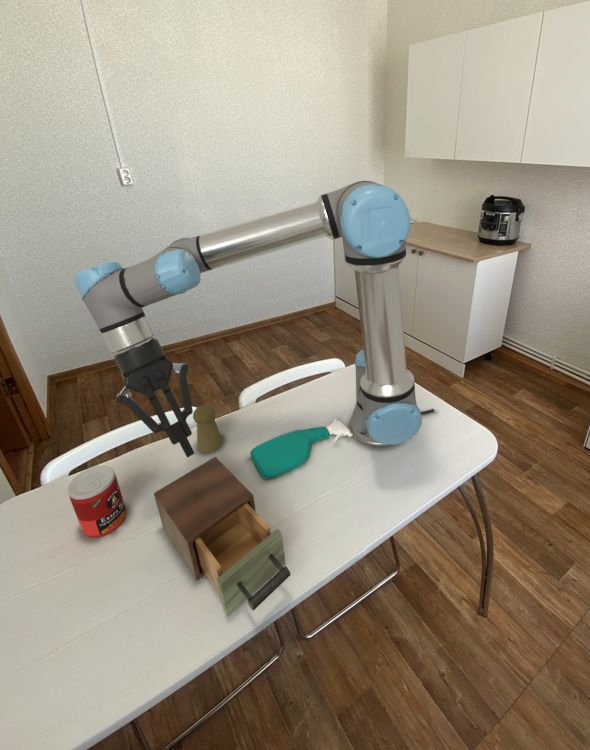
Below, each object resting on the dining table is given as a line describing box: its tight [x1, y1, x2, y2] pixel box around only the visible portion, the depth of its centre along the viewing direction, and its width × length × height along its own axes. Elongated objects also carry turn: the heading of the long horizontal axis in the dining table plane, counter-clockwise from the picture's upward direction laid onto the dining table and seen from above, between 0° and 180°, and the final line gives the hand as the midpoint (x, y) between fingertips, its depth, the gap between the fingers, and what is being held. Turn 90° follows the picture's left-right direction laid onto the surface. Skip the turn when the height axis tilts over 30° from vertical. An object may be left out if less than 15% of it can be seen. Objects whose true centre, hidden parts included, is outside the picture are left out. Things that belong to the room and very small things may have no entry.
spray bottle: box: [250, 418, 353, 480], centre depth 96 cm, size 3×11×24 cm
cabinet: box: [153, 456, 257, 581], centre depth 74 cm, size 15×13×10 cm
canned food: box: [67, 465, 127, 539], centre depth 76 cm, size 8×8×11 cm
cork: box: [192, 404, 223, 454], centre depth 96 cm, size 6×6×11 cm
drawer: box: [193, 503, 292, 617], centre depth 66 cm, size 18×11×8 cm, turn 47°
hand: (189, 453), depth 75 cm, fingers closed
